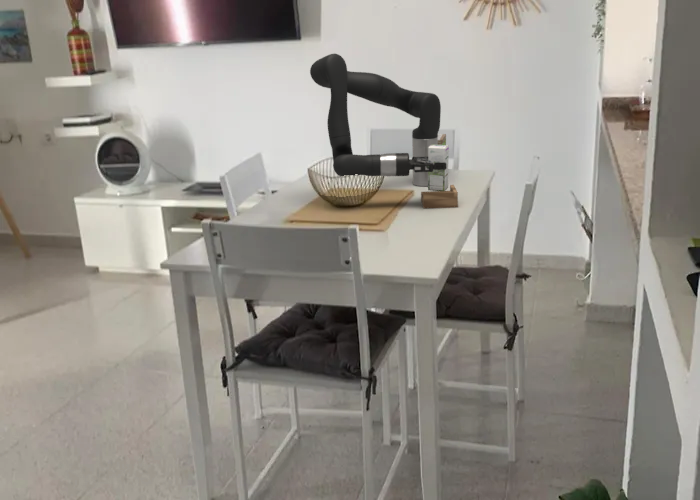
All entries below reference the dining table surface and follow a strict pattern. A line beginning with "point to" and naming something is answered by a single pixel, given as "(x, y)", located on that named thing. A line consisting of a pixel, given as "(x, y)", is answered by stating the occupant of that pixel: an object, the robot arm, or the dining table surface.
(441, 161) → the syrup box
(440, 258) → the dining table surface
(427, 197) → the walnut tray
